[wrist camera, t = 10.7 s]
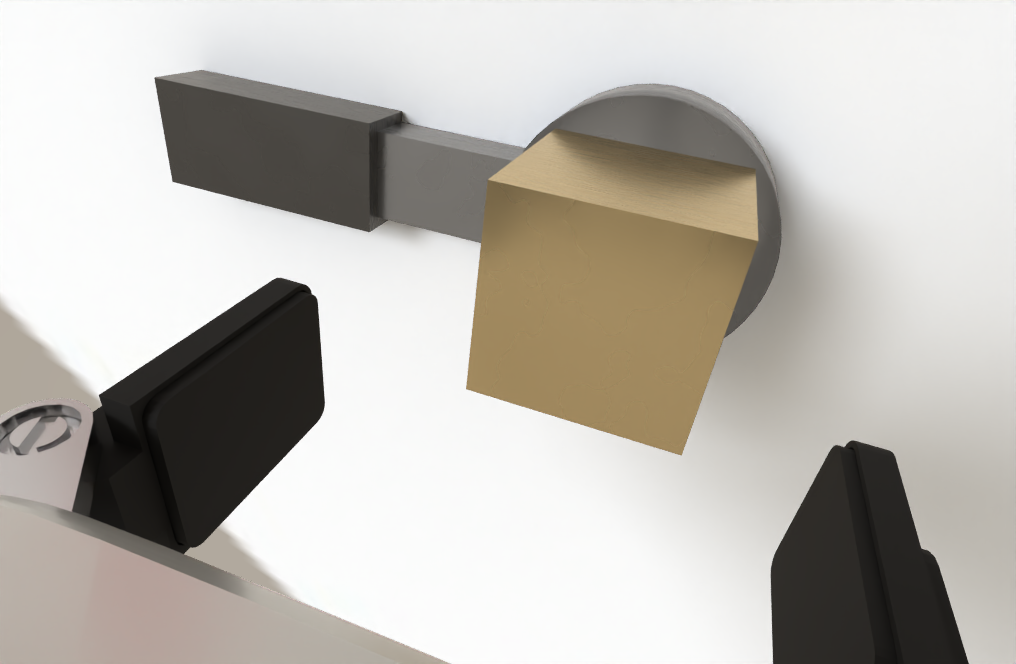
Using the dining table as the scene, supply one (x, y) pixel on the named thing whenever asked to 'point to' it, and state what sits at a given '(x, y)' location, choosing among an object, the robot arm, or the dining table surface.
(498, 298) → the brushed gold cube
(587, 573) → the dining table surface
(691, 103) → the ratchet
